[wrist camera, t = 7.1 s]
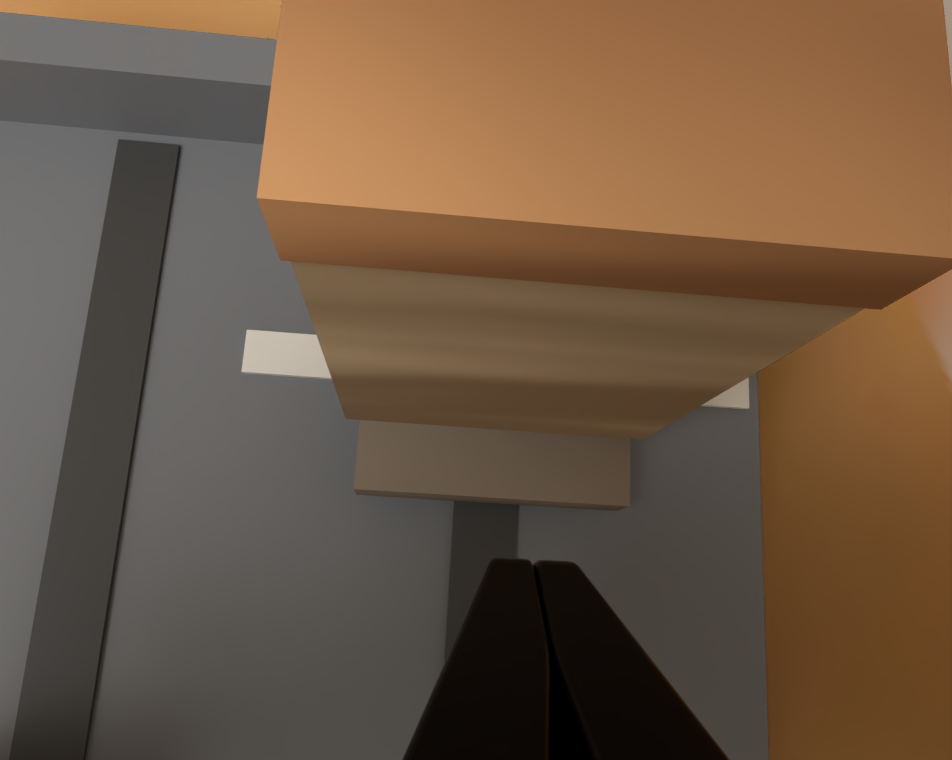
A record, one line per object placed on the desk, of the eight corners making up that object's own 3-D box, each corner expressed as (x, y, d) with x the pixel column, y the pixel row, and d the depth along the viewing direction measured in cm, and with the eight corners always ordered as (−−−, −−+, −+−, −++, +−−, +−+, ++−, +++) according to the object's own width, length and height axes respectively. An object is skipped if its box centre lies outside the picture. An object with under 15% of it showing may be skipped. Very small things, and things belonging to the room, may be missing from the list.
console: (729, 1282, 13) (897, 1642, 8) (-244, 1286, 12) (-620, 1696, 7) (710, 198, 17) (814, 69, 13) (3, 134, 16) (-143, -29, 12)
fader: (632, 512, 13) (981, 404, 5) (340, 493, 12) (237, 348, 5) (634, 215, 14) (919, -238, 6) (368, 191, 14) (322, -317, 6)
